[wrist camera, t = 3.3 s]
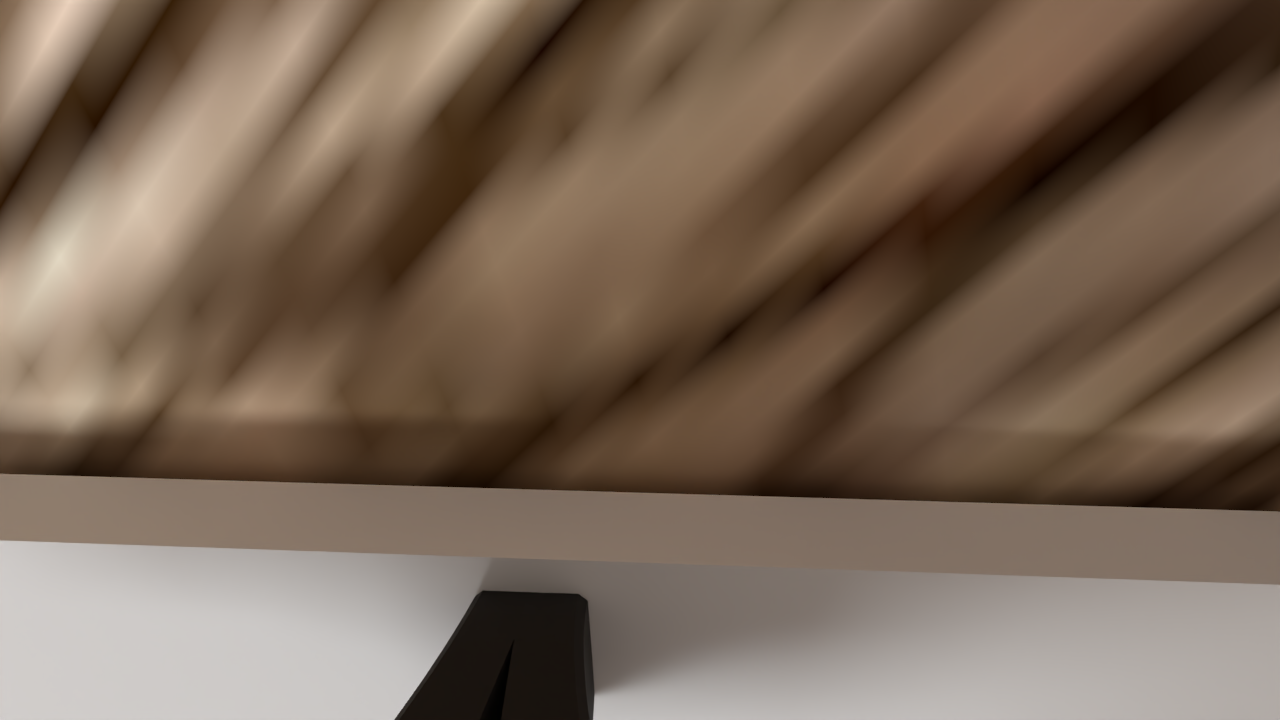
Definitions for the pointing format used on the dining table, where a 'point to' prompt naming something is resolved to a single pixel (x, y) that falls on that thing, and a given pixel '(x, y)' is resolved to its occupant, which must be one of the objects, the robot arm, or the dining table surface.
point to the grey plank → (630, 601)
